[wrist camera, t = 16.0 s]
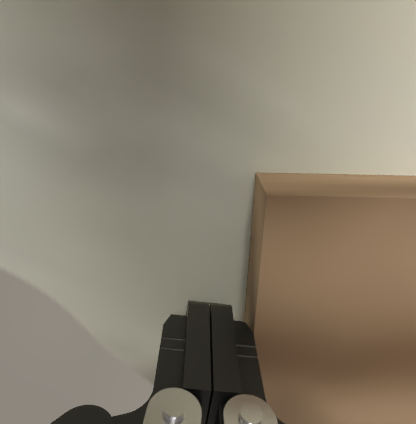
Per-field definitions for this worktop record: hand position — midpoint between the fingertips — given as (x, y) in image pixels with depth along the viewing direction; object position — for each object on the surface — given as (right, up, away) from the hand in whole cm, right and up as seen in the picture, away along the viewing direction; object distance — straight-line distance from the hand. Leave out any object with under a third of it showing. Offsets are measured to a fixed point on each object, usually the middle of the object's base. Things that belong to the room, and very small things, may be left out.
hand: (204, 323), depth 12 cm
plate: (+7, +1, +1) cm, 7 cm away
